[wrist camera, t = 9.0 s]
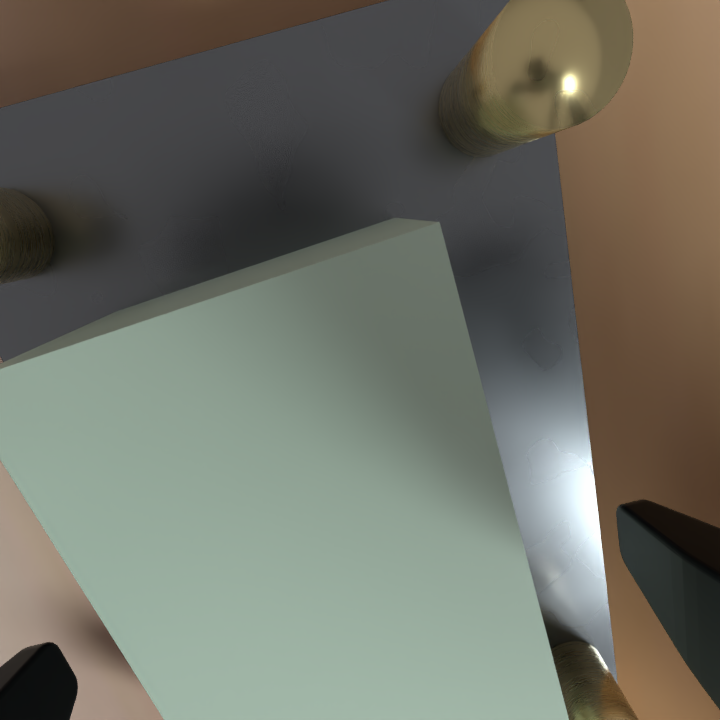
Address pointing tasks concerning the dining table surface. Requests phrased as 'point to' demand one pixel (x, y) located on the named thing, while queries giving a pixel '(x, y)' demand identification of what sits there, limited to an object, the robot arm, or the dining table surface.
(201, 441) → the pale green block
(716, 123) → the dining table surface
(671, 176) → the dining table surface
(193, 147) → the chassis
